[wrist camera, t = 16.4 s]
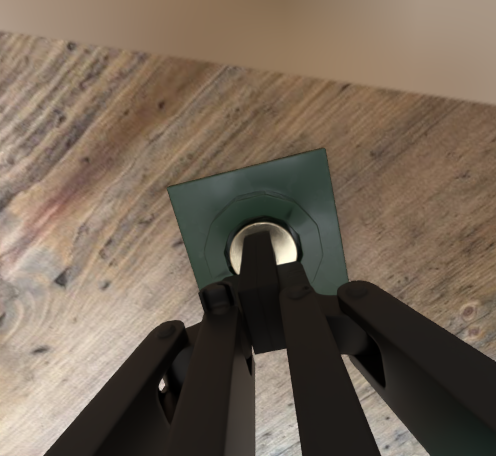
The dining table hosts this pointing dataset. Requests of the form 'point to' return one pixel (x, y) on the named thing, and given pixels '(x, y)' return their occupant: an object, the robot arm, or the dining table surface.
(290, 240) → the button
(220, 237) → the block
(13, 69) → the dining table surface
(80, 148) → the dining table surface
